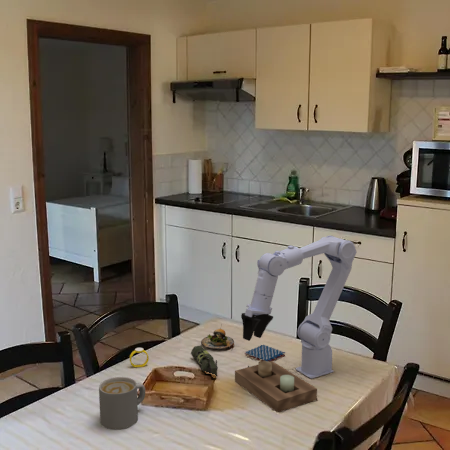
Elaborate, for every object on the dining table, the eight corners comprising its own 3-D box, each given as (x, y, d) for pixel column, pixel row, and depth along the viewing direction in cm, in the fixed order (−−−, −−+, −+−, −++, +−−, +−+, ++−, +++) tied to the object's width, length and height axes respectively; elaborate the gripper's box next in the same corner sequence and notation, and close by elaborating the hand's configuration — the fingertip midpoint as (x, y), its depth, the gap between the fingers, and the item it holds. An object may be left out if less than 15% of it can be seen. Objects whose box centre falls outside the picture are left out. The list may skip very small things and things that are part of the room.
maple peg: (266, 370, 177) (266, 359, 176) (274, 375, 173) (274, 364, 173) (255, 373, 175) (255, 362, 174) (263, 378, 171) (263, 367, 171)
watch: (130, 369, 184) (130, 351, 183) (129, 365, 187) (128, 348, 185) (149, 367, 186) (148, 349, 185) (147, 363, 188) (147, 346, 187)
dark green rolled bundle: (204, 356, 195) (222, 379, 178) (190, 358, 193) (206, 381, 176) (204, 339, 193) (222, 360, 177) (190, 341, 192) (206, 362, 175)
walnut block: (271, 371, 183) (271, 360, 182) (316, 399, 165) (317, 388, 164) (234, 381, 176) (234, 370, 175) (277, 412, 158) (277, 400, 157)
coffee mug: (109, 433, 147) (107, 397, 145) (94, 417, 155) (93, 382, 153) (155, 418, 154) (155, 384, 152) (139, 403, 162) (138, 370, 160)
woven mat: (262, 348, 202) (262, 343, 202) (286, 357, 195) (286, 351, 195) (242, 357, 195) (242, 351, 195) (266, 366, 188) (266, 360, 187)
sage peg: (288, 384, 167) (288, 373, 167) (296, 390, 164) (297, 378, 163) (277, 388, 165) (277, 376, 165) (285, 393, 162) (285, 382, 161)
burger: (194, 345, 204) (194, 325, 203) (218, 337, 212) (219, 317, 211) (216, 355, 196) (216, 335, 194) (241, 346, 203) (241, 326, 202)
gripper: (261, 289, 176) (250, 331, 177) (240, 290, 164) (229, 336, 164) (281, 296, 173) (270, 339, 174) (262, 298, 160) (250, 344, 161)
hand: (251, 338), depth 169 cm, fingers open, 7 cm apart
